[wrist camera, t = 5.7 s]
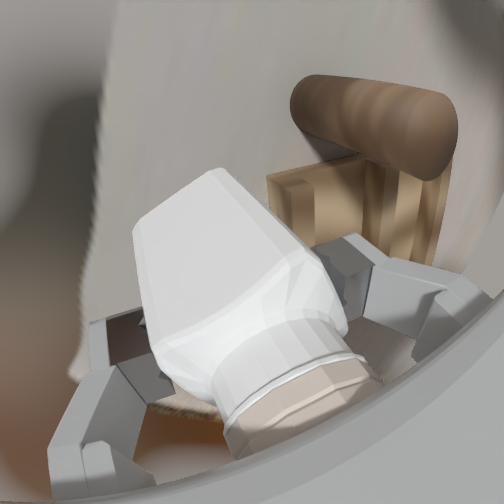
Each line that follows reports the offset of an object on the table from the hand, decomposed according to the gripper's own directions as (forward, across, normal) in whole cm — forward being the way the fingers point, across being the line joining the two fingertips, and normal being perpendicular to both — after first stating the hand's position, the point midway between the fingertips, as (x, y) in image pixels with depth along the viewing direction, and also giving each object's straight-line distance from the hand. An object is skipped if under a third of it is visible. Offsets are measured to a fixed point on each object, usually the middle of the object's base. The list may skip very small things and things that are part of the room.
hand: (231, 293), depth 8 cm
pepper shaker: (+4, 0, 0) cm, 4 cm away
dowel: (+11, -10, -2) cm, 15 cm away
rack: (+10, -14, +9) cm, 19 cm away
